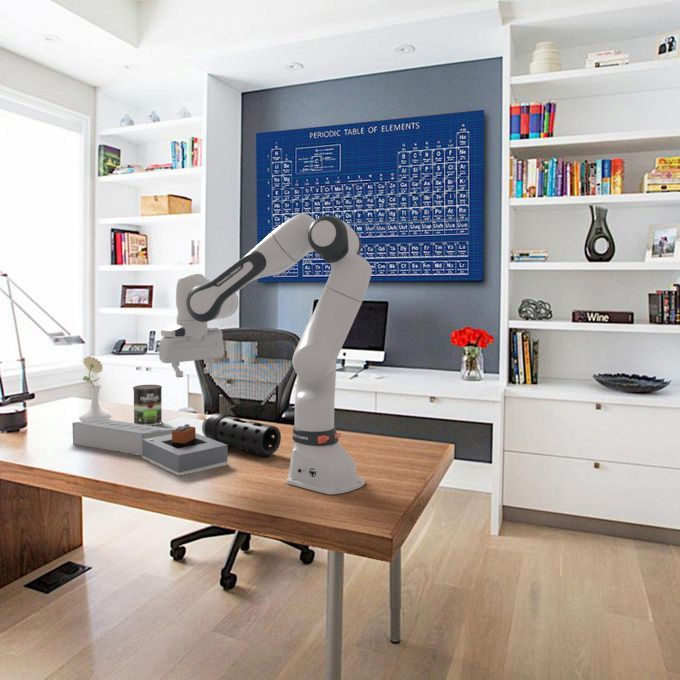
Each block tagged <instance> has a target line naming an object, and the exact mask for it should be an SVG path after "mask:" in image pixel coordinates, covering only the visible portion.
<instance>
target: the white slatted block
mask: <svg viewBox="0 0 680 680" xmlns="http://www.w3.org/2000/svg"><path fill="white" fill-rule="evenodd" d="M173 430H175V429H173V428H169V427H168V428H166V427H160V426H155V425H154V426H147V425H141V424H134V422H126V421H120V420H113V419H108V420H107V419H105V420H94V421H84V422H83V421H76V422H75V421H74V422H72V444H73V445H78V446H83V447H84V446H85V447H88V448H89V447H90V448H95V449H101V450H105V449H106V450H107V451H111V450H113V451H112V452H117V451H120V452H119V453H122V452H126V453H125V454H128V453H131V454H130V455H134V454H138V455H137V456H139V455H142V439H147V438H152V437H158V436H163V435H169V434H172V431H173Z"/></svg>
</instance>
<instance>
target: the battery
mask: <svg viewBox="0 0 680 680" xmlns="http://www.w3.org/2000/svg"><path fill="white" fill-rule="evenodd" d="M193 445H196V427H195V426H191V425H190V424H189V423H188V424H184V425H182V426H181V425H180V426H179V425H178V426H177V428H175V429H174V430H173V431H172V447H175V448H177V449H179V448H184V447H188V446H193Z"/></svg>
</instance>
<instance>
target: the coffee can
mask: <svg viewBox="0 0 680 680" xmlns="http://www.w3.org/2000/svg"><path fill="white" fill-rule="evenodd" d="M132 389H133V423H134V424H141V425H147V426H152V425H154V426H157V425H156V424H159V425H161V424H162V422H163V420H162V414H163V410H162V396H163V395H162V389H163V386H162V385H159V384H140V385H135V386H133V387H132ZM160 423H161V424H160Z"/></svg>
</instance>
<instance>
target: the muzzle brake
mask: <svg viewBox="0 0 680 680" xmlns="http://www.w3.org/2000/svg"><path fill="white" fill-rule="evenodd" d="M201 430H202V433H203V436H205V437H207V438H210V439H213V440H216V441H218V442H221V443H224V444H226V445H228V448H231V447H234V448H239V449H241V450H242V451H247V452H248V453H250V454H255V455H259V456H263V457H267V458H270V457H272V455H273V454H275V453H276V451H278V449H279V448H280V445H281V440H282V434H281V431H280V429H279V428H278V427H277V426H275V425H270V424H267V423H266V424H265V423H261V422H256V421H252V420H247V419H243V418H238V417H233V416H229V415H227V414H225V413H220V412H218V413H217V412H215V413H211V414H209V415H207V416H206V417H205V418H204V420H203V422H202V425H201Z"/></svg>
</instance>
